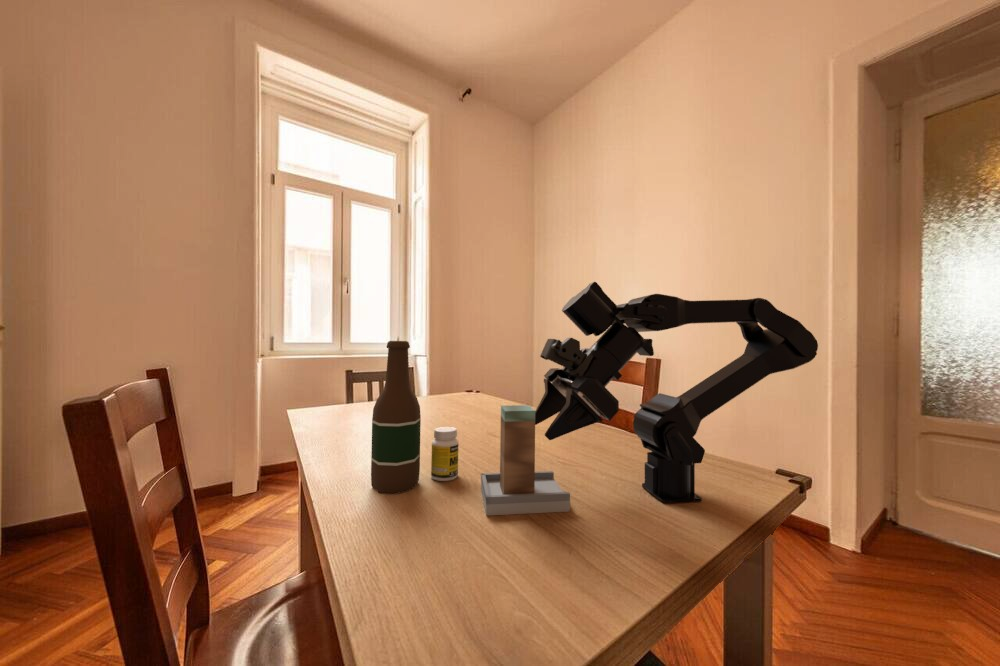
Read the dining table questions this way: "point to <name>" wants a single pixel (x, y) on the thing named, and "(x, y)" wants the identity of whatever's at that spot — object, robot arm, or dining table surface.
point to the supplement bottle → (444, 454)
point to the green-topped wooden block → (517, 450)
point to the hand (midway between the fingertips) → (539, 429)
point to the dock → (524, 496)
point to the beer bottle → (396, 427)
